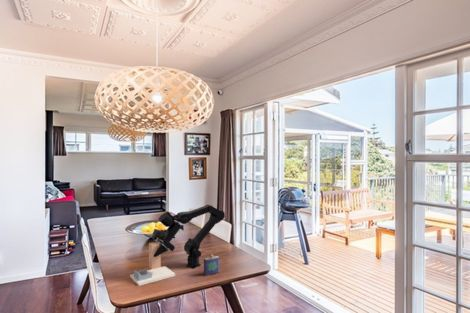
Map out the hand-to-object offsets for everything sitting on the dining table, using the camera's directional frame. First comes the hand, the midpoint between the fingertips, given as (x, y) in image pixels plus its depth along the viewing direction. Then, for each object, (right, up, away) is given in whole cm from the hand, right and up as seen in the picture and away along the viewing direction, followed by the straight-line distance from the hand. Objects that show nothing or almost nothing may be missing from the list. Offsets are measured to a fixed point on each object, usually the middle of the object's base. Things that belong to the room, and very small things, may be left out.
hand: (152, 255), depth 158 cm
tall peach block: (+1, -7, +1) cm, 7 cm away
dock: (0, -11, 0) cm, 11 cm away
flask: (+32, -12, +5) cm, 34 cm away
